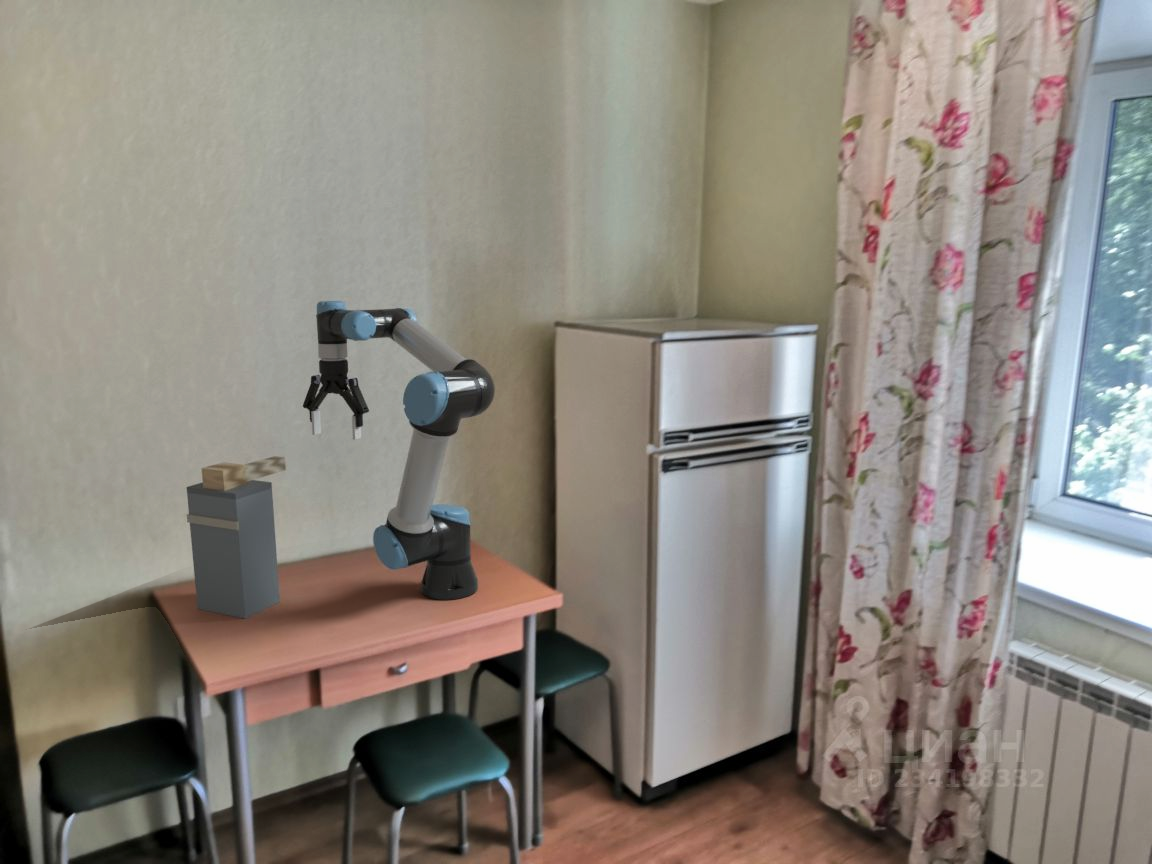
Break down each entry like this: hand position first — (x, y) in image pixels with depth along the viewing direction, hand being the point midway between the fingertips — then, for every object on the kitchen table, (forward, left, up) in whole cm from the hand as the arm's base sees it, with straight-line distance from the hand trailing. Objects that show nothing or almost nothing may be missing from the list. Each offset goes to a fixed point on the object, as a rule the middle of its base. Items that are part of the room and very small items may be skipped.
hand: (336, 436), depth 234 cm
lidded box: (+11, +29, -40) cm, 50 cm away
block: (+11, +23, -8) cm, 26 cm away
